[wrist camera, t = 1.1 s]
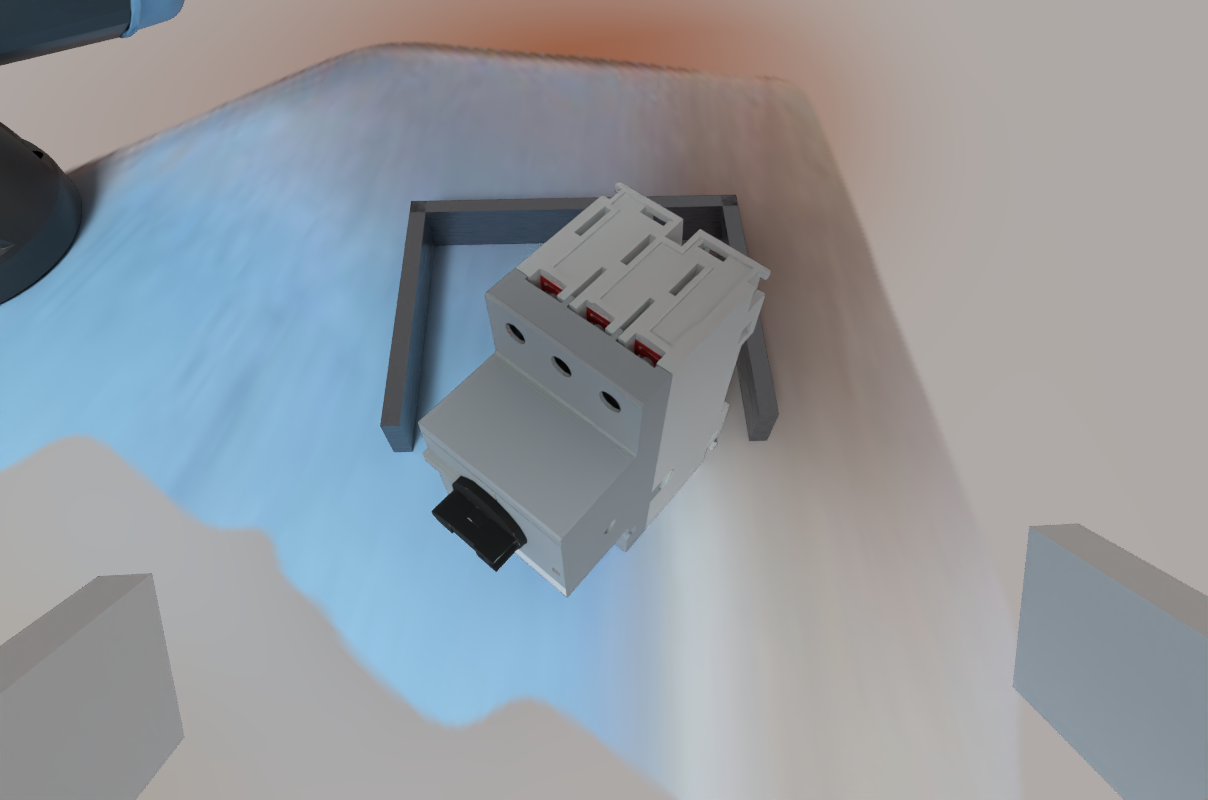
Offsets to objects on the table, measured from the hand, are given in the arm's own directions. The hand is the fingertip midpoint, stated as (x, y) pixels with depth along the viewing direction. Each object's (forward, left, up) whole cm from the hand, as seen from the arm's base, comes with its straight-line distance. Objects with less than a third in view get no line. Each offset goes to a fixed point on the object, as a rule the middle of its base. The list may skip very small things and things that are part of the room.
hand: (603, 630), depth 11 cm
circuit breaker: (-13, 0, -25) cm, 28 cm away
